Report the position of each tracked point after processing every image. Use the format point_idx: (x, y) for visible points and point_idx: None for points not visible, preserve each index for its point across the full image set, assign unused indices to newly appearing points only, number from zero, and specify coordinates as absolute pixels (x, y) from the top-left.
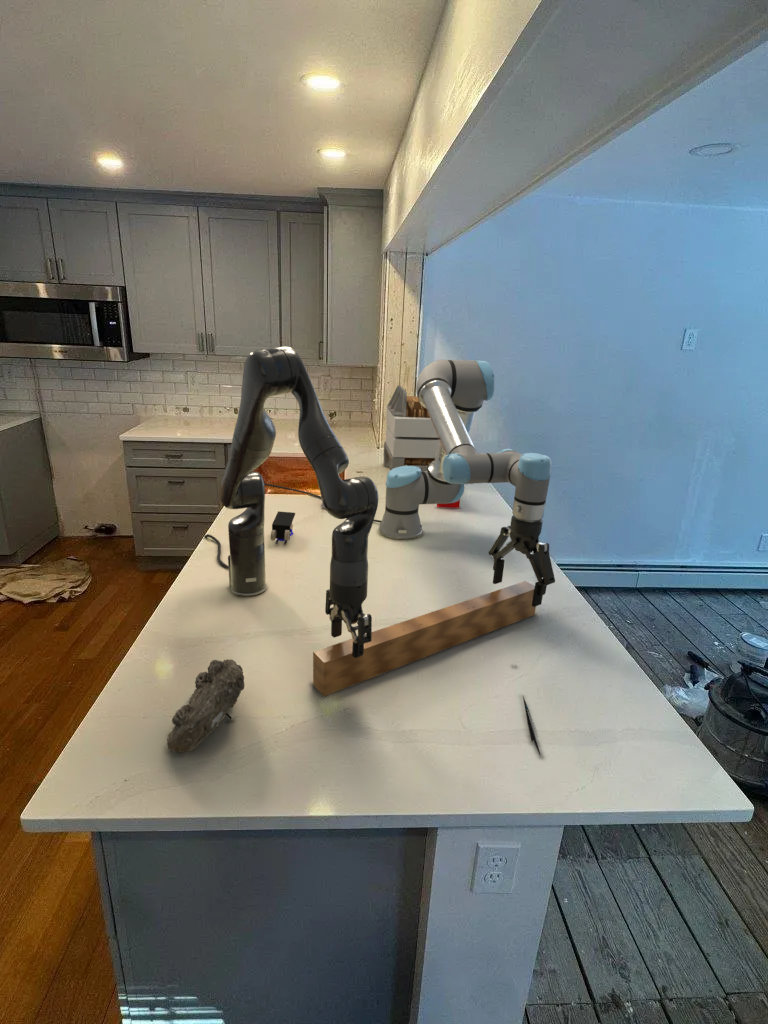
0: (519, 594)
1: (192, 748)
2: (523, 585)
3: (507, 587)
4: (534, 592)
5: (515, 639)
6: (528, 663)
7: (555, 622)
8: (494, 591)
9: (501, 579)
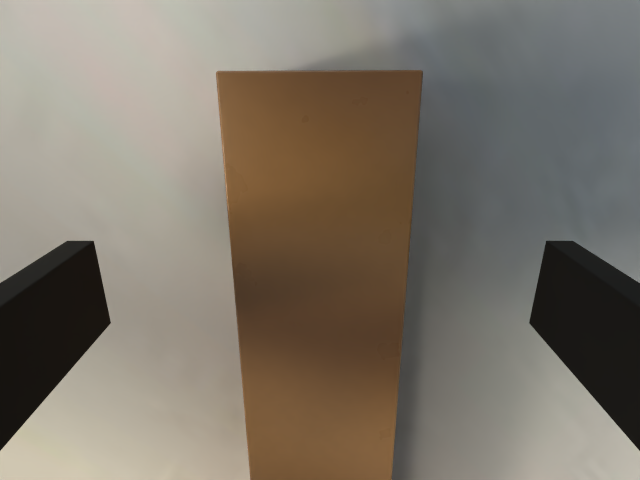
0: (400, 347)
1: None
2: (292, 183)
3: (249, 344)
4: (619, 415)
5: (477, 357)
6: (622, 433)
7: (523, 25)
8: (253, 465)
9: (80, 261)
